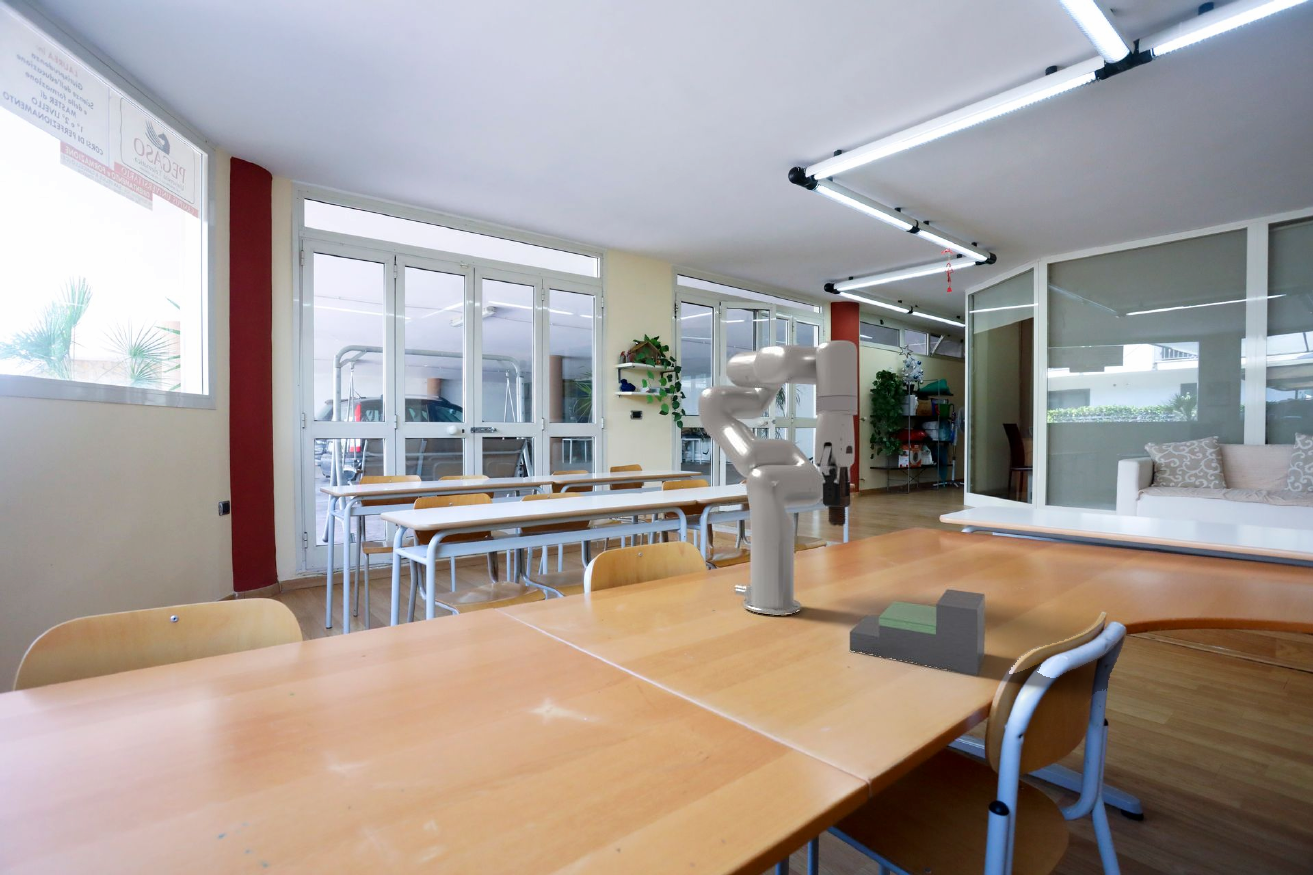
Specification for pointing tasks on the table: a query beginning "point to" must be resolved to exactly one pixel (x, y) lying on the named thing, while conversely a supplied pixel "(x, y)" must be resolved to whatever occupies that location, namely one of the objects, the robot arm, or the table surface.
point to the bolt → (838, 511)
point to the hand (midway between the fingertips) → (836, 502)
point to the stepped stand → (928, 633)
